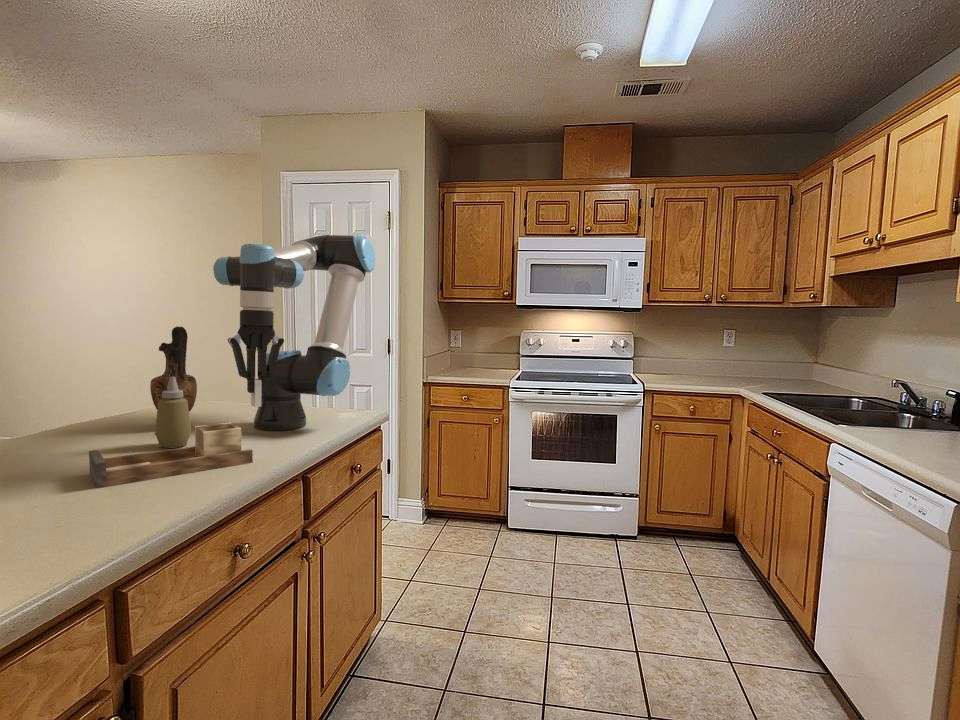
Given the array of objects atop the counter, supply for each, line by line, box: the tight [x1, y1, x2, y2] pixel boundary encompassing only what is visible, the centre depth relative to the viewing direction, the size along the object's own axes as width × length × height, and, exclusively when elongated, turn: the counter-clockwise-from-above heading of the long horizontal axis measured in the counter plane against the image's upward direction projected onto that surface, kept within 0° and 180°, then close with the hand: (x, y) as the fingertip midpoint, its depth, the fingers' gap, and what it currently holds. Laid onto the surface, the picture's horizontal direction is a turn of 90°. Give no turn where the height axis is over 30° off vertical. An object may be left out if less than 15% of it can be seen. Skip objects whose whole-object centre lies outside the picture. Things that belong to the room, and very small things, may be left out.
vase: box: [149, 326, 198, 413], centre depth 152 cm, size 12×12×30 cm
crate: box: [194, 422, 242, 457], centre depth 123 cm, size 8×7×7 cm
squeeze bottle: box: [154, 377, 192, 449], centre depth 134 cm, size 8×8×18 cm
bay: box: [88, 445, 254, 489], centre depth 117 cm, size 30×11×5 cm, turn 133°
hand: (256, 405), depth 128 cm, fingers closed
